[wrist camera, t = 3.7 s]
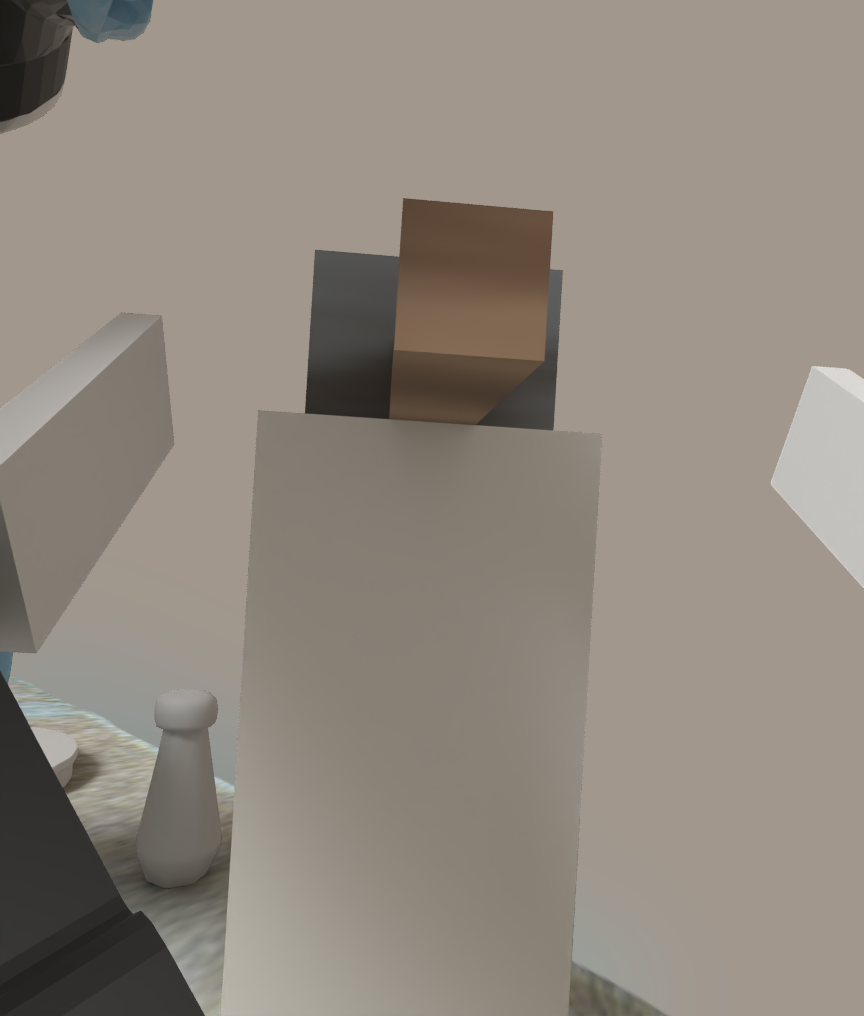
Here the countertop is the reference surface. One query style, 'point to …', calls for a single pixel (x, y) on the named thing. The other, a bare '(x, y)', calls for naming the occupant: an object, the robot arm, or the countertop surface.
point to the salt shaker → (181, 793)
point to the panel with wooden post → (441, 321)
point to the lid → (58, 752)
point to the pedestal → (411, 719)
